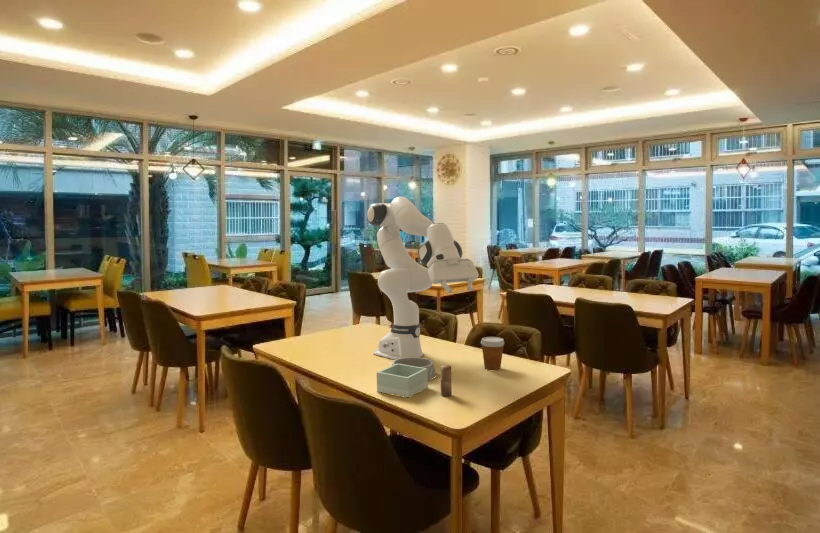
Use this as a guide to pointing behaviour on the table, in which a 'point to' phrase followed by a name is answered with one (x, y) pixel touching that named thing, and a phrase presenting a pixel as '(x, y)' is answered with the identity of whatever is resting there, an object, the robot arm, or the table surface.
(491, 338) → the disposable coffee cup
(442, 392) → the peg
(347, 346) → the table surface
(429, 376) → the dog bowl
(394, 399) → the table surface
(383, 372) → the socket box
